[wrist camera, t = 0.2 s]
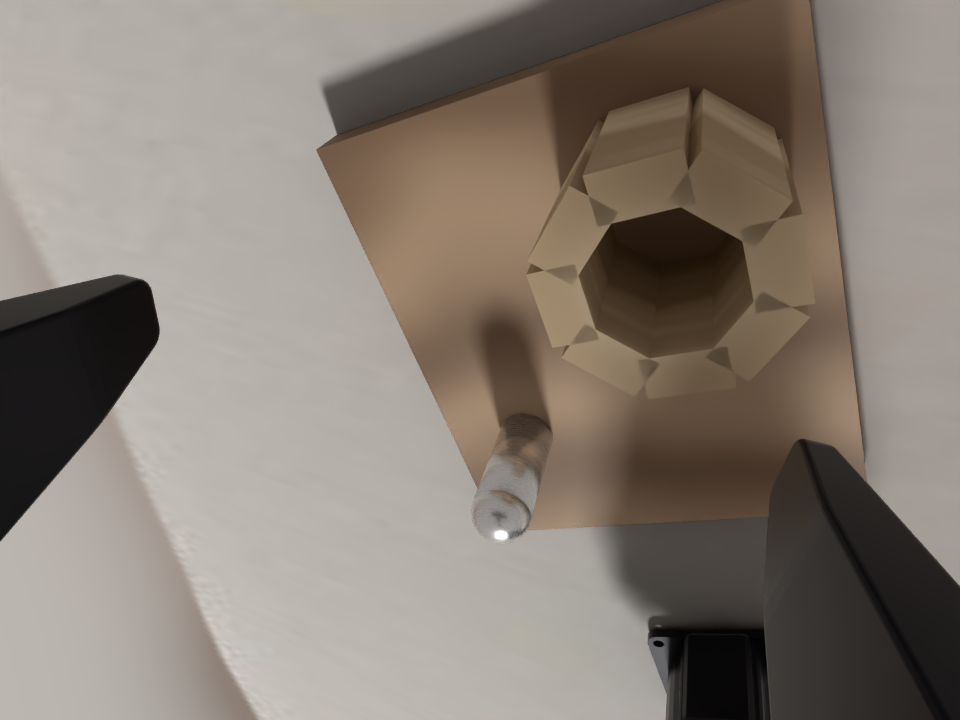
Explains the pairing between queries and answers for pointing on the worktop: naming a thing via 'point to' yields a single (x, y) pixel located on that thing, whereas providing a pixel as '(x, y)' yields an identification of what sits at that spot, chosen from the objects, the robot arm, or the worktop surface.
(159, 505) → the worktop surface
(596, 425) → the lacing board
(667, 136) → the wooden octagonal holder
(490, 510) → the silver metal cylinder
